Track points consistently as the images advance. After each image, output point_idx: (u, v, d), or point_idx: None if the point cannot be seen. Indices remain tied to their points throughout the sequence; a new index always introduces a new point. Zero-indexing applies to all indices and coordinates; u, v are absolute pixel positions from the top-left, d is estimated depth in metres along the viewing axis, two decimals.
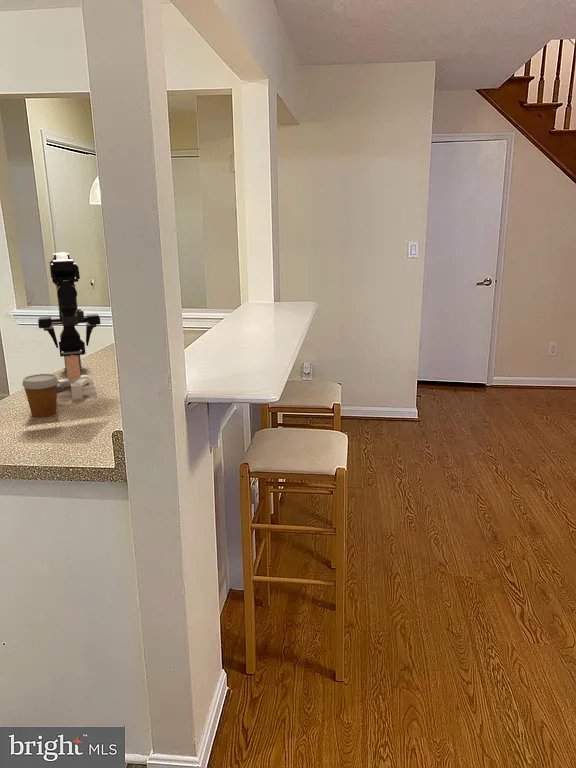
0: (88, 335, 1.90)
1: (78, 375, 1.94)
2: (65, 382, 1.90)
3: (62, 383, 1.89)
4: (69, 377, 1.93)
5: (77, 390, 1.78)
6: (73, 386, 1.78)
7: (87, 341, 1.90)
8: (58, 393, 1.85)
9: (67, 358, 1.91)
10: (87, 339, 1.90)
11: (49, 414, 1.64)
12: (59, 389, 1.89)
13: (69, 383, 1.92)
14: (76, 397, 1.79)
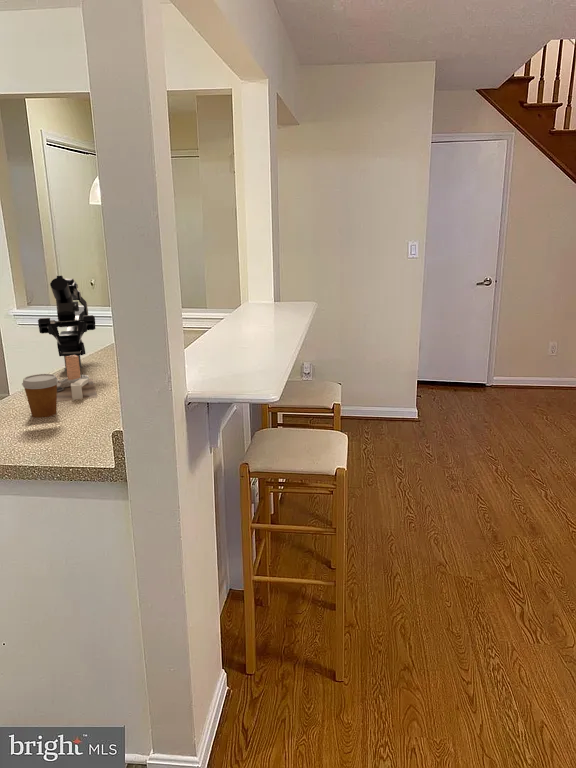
0: (79, 332, 2.02)
1: (78, 375, 1.94)
2: (65, 382, 1.90)
3: (62, 383, 1.89)
4: (69, 377, 1.93)
5: (77, 390, 1.78)
6: (73, 386, 1.78)
7: (78, 338, 2.02)
8: (58, 393, 1.85)
9: (67, 358, 1.91)
10: (78, 336, 2.02)
11: (49, 414, 1.64)
12: (59, 389, 1.89)
13: (69, 383, 1.92)
14: (76, 397, 1.79)
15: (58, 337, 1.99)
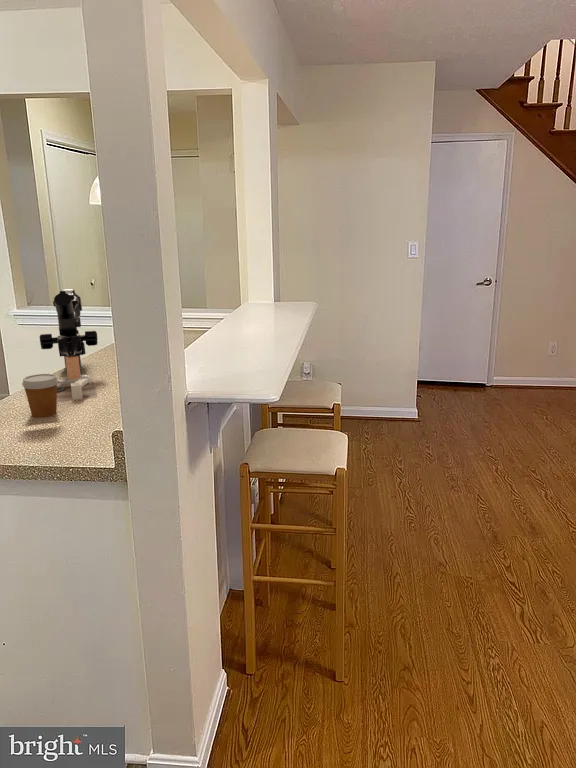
0: (73, 349, 1.99)
1: (78, 375, 1.94)
2: (65, 382, 1.90)
3: (62, 383, 1.89)
4: (69, 377, 1.93)
5: (77, 390, 1.78)
6: (73, 386, 1.78)
7: (72, 354, 1.98)
8: (58, 393, 1.85)
9: (67, 358, 1.91)
10: (72, 352, 1.99)
11: (49, 414, 1.64)
12: (59, 389, 1.89)
13: (69, 383, 1.92)
14: (76, 397, 1.79)
15: (68, 352, 1.98)
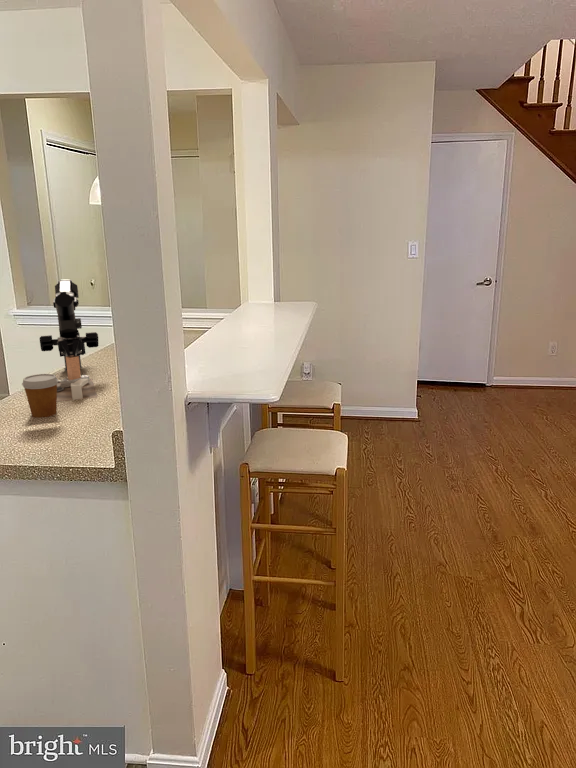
0: (74, 350, 1.96)
1: (78, 375, 1.93)
2: (65, 382, 1.90)
3: (62, 383, 1.89)
4: (69, 377, 1.93)
5: (77, 390, 1.78)
6: (73, 386, 1.78)
7: None
8: (58, 393, 1.85)
9: (67, 358, 1.91)
10: (73, 354, 1.95)
11: (49, 414, 1.64)
12: (59, 389, 1.89)
13: (69, 383, 1.91)
14: (76, 397, 1.79)
15: (68, 355, 1.94)
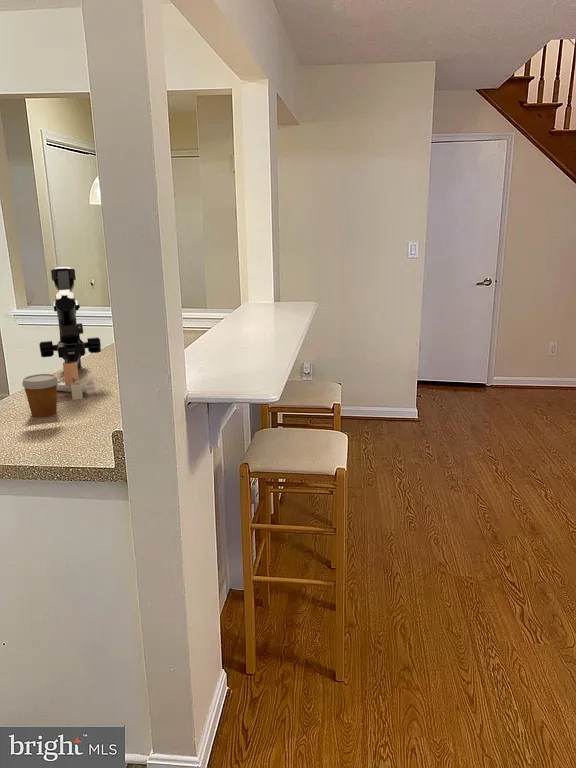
0: (76, 357, 1.88)
1: (70, 383, 1.84)
2: (58, 386, 1.86)
3: None
4: None
5: (77, 390, 1.78)
6: (73, 386, 1.78)
7: None
8: (58, 393, 1.85)
9: None
10: None
11: (49, 414, 1.64)
12: None
13: (62, 388, 1.86)
14: (76, 397, 1.79)
15: None
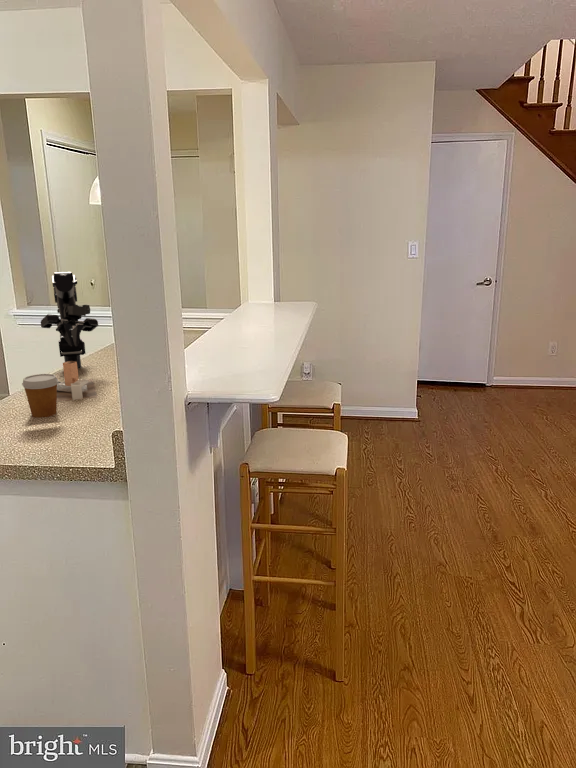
0: (78, 335, 2.02)
1: (70, 383, 1.84)
2: (58, 386, 1.86)
3: None
4: None
5: (77, 390, 1.78)
6: (73, 386, 1.78)
7: (77, 340, 2.01)
8: (58, 393, 1.85)
9: None
10: (77, 338, 2.01)
11: (49, 414, 1.64)
12: None
13: (62, 388, 1.86)
14: (76, 397, 1.79)
15: (70, 338, 1.99)
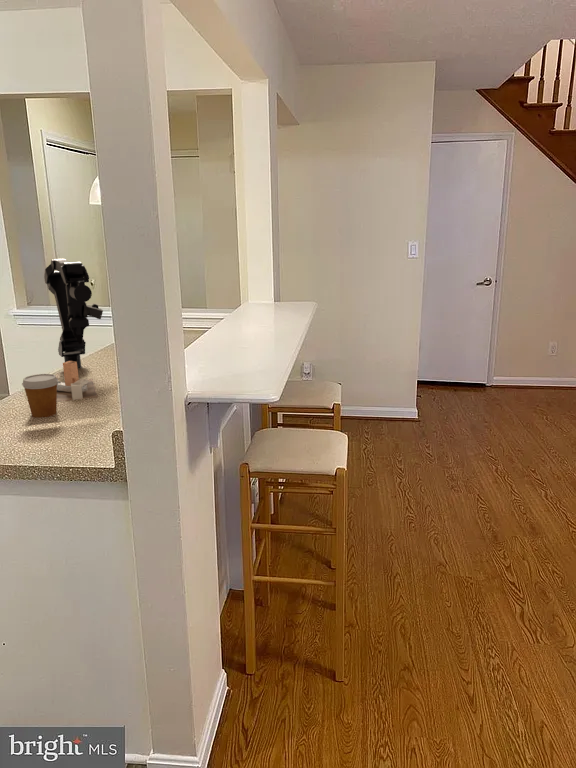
0: None
1: (70, 383, 1.84)
2: (58, 386, 1.86)
3: None
4: None
5: (77, 390, 1.78)
6: (73, 386, 1.78)
7: None
8: (58, 393, 1.85)
9: None
10: None
11: (49, 414, 1.64)
12: None
13: (62, 388, 1.86)
14: (76, 397, 1.79)
15: (82, 337, 2.02)
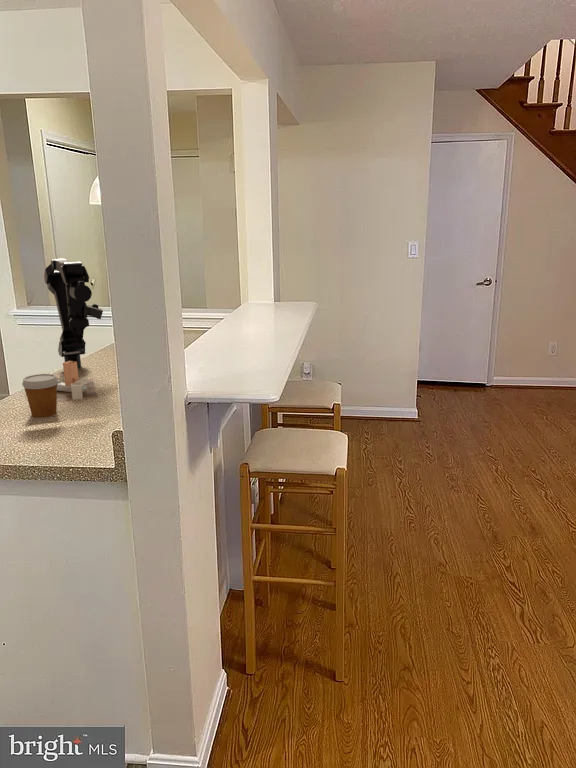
0: None
1: (70, 383, 1.84)
2: (58, 386, 1.86)
3: None
4: None
5: (77, 390, 1.78)
6: (73, 386, 1.78)
7: None
8: (58, 393, 1.85)
9: None
10: None
11: (49, 414, 1.64)
12: None
13: (62, 388, 1.86)
14: (76, 397, 1.79)
15: (82, 337, 2.02)
